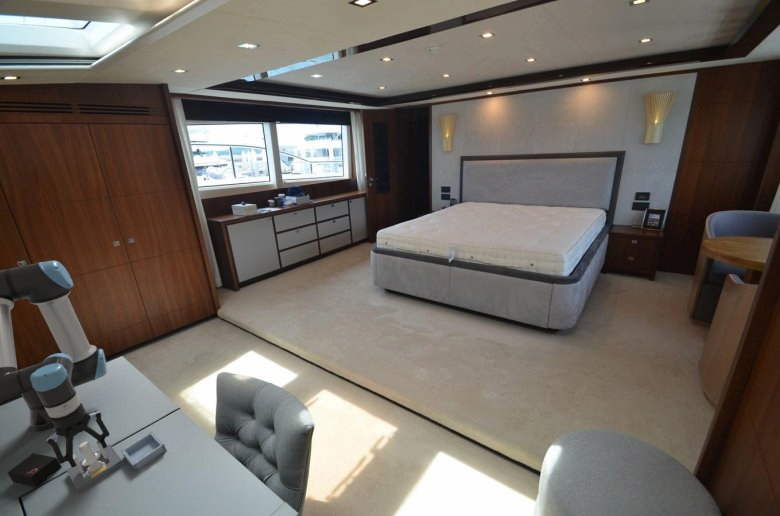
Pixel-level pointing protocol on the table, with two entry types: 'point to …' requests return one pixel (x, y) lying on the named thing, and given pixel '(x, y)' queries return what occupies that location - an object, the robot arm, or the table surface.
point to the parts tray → (143, 451)
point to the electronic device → (34, 470)
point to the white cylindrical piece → (90, 458)
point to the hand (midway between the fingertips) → (93, 463)
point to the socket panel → (99, 474)
